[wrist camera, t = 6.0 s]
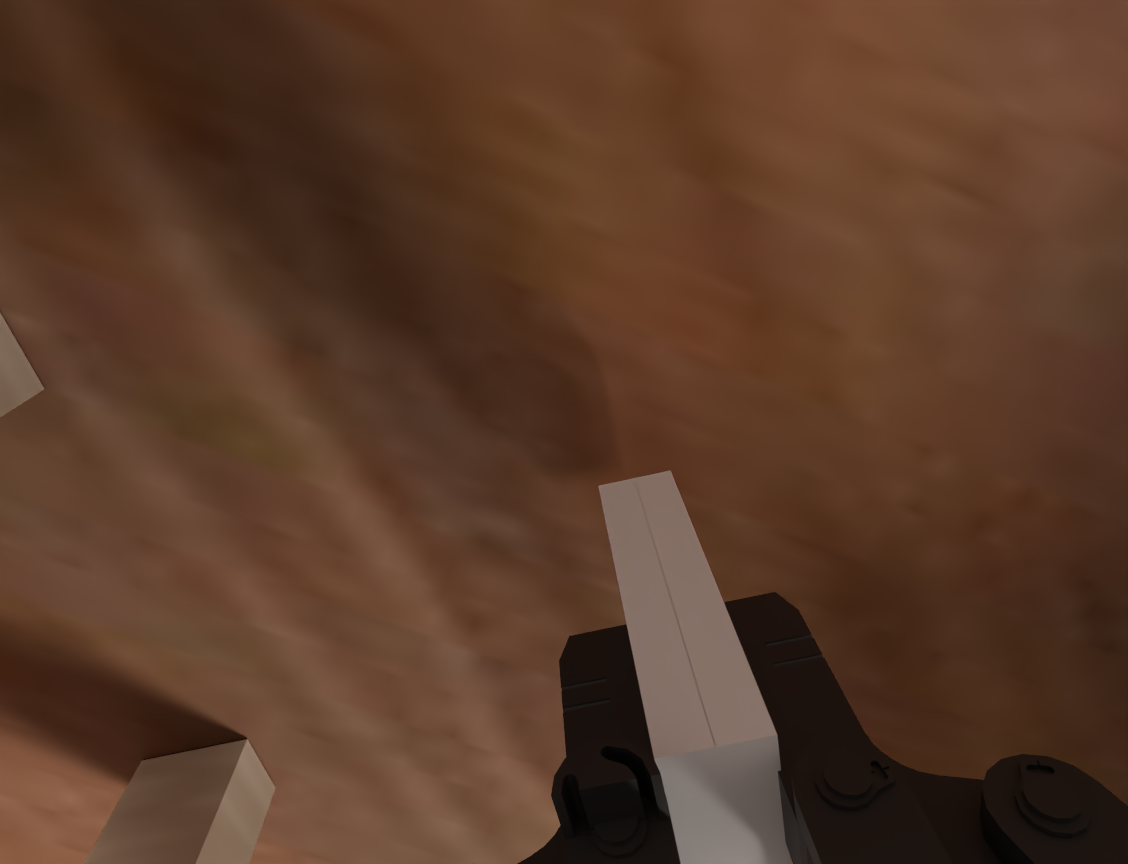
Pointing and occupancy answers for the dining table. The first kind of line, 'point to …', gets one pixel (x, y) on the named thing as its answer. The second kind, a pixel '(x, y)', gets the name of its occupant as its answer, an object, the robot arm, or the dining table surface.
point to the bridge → (168, 756)
